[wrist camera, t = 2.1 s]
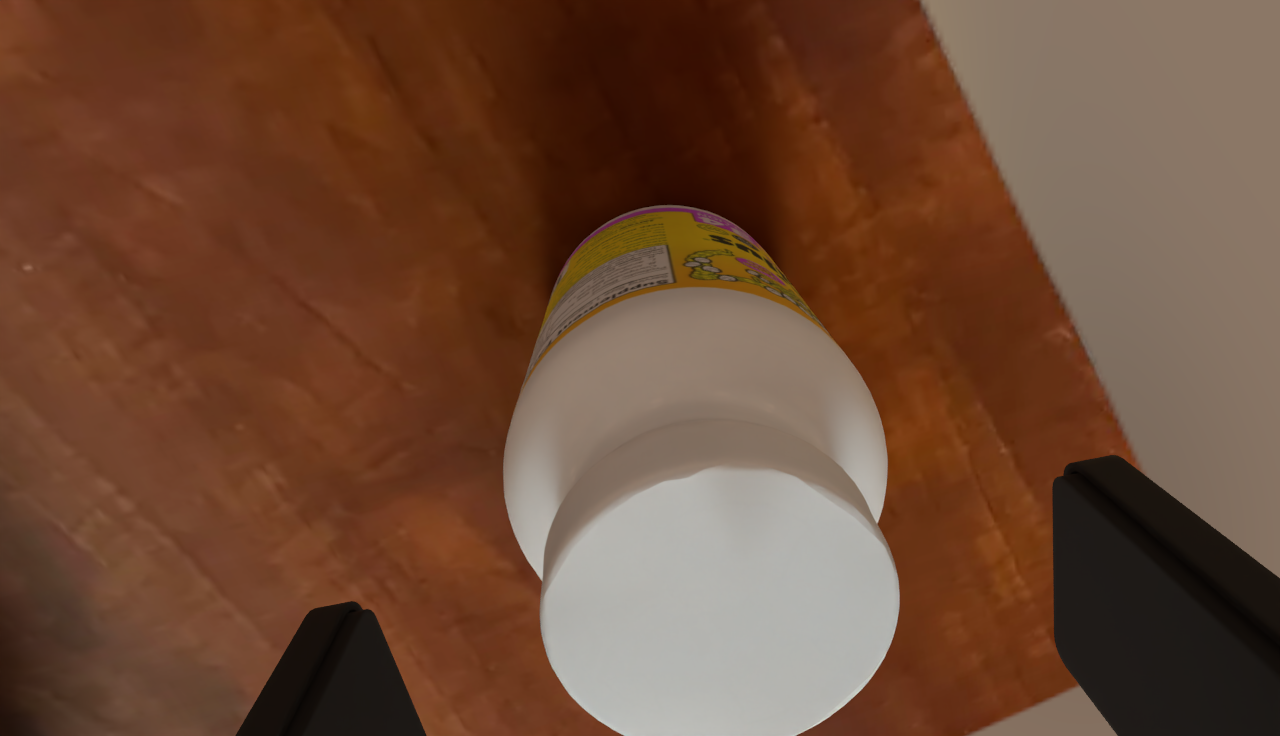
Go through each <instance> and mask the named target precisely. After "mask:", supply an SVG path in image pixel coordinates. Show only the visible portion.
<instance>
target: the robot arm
mask: <svg viewBox="0 0 1280 736" xmlns="http://www.w3.org/2000/svg"><path fill="white" fill-rule="evenodd" d="M1053 570H1054V637H1055V643H1056V647H1057V650H1058V653H1059V655H1060V657H1061V659H1062V661H1063V663H1064V664H1065V666H1066V667H1067V669H1068V670H1069V671H1070V673H1071V674H1072V675H1073V677H1074V678H1075V679H1076V681H1077V682H1078V683H1079V685H1080V686H1081V687H1082V689H1083V690H1084V691H1085V693H1086V694H1087V695H1088V697H1089V698H1090V699H1091V701H1092V702H1093V703H1094V705H1095V706H1096V707H1097V709H1098V710H1099V711H1100V712H1101V714H1102V715H1103V717H1104V718H1105V719H1106V721H1107V722H1108V723H1109V725H1110V726H1111V727H1112V728H1113V730H1114V731H1115V732H1116V734H1117V735H1118V736H1280V578H1279V577H1277V576H1276V575H1275V574H1273V573H1272V572H1271V571H1269V570H1268V569H1267V568H1265V567H1264V566H1263V565H1261V564H1260V563H1259V562H1257V561H1256V560H1255V559H1254V558H1252V557H1251V556H1250V555H1248V554H1247V553H1246V552H1244V551H1243V550H1242V549H1241V548H1239V547H1238V546H1237V545H1235V544H1234V543H1233V542H1231V541H1230V540H1229V539H1227V538H1226V537H1225V536H1224V535H1222V534H1221V533H1220V532H1218V531H1217V530H1216V529H1214V528H1213V527H1211V526H1210V525H1209V524H1208V523H1206V522H1205V521H1204V520H1203V519H1201V518H1200V517H1199V516H1197V515H1196V514H1195V513H1193V512H1192V511H1191V510H1190V509H1188V508H1187V507H1186V506H1184V505H1183V504H1182V503H1180V502H1179V501H1178V500H1176V499H1175V498H1174V497H1172V496H1171V495H1170V494H1169V493H1167V492H1166V491H1165V490H1163V489H1162V488H1161V487H1159V486H1158V485H1157V484H1156V483H1154V482H1153V481H1152V480H1150V479H1149V478H1148V477H1146V476H1145V475H1144V474H1142V473H1141V472H1140V471H1138V470H1137V469H1136V468H1135V467H1133V466H1132V465H1131V464H1129V463H1128V462H1127V461H1125V460H1124V459H1123V458H1121V457H1119V456H1116V455H1110V456H1105V457H1100V458H1095V459H1089V460H1084V461H1079V462H1074V463H1070V464H1068V465H1067V466H1066V468H1065V470H1064V476H1060V477H1057V478H1056V479H1055V480H1054V482H1053ZM236 736H426V733H425V731H424V729H423V726H422V724H421V722H420V719H419V717H418V715H417V712H416V710H415V708H414V705H413V703H412V700H411V698H410V696H409V693H408V691H407V689H406V686H405V684H404V682H403V679H402V677H401V675H400V672H399V670H398V667H397V665H396V663H395V660H394V658H393V656H392V653H391V651H390V649H389V646H388V644H387V642H386V639H385V637H384V634H383V632H382V630H381V627H380V625H379V623H378V620H377V618H376V616H375V614H374V613H373V612H372V611H371V610H368V609H366V610H363V609H362V608H361V606H360V605H359V604H358V603H357V602H352V601H351V602H346V603H341V604H336V605H330V606H325V607H320V608H315V609H313V610H311V611H310V612H309V613H308V614H307V615H306V617H305V618H304V620H303V622H302V624H301V625H300V627H299V629H298V630H297V632H296V634H295V635H294V637H293V639H292V641H291V642H290V644H289V646H288V647H287V649H286V651H285V652H284V654H283V656H282V658H281V659H280V661H279V663H278V664H277V666H276V668H275V669H274V671H273V673H272V675H271V676H270V678H269V680H268V681H267V683H266V685H265V686H264V688H263V690H262V692H261V693H260V695H259V697H258V698H257V700H256V702H255V704H254V705H253V707H252V709H251V710H250V712H249V714H248V715H247V717H246V719H245V721H244V722H243V724H242V726H241V727H240V729H239V731H238V732H237V734H236Z"/></svg>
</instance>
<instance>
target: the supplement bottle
mask: <svg viewBox="0 0 1280 736" xmlns="http://www.w3.org/2000/svg"><path fill="white" fill-rule="evenodd" d="M887 468H888V461H887V449H886V442H885V435H884V431H883V426H882V422H881V419H880V416H879V413H878V410H877V407H876V405H875V403H874V400H873V398H872V395H871V393H870V391H869V389H868V388H867V386H866V384H865V382H864V380H863V379H862V377H861V375H860V374H859V372H858V371H857V369H856V368H855V367H854V365H853V364H852V362H851V361H850V360H849V358H848V357H847V356H846V354H845V353H844V352H843V350H842V349H841V348H840V347H839V345H838V344H837V343H836V342H835V340H834V339H833V338H832V337H831V335H830V334H829V333H828V331H827V330H826V329H825V328H824V326H823V325H822V324H821V322H820V321H819V320H818V318H817V317H816V316H815V314H814V313H813V312H812V311H811V309H810V308H809V307H808V305H807V304H806V303H805V302H804V300H803V299H802V298H801V296H800V295H799V293H798V292H797V291H796V289H795V288H794V287H793V286H792V284H791V283H790V282H789V281H788V279H787V278H786V276H785V275H784V273H782V272H781V270H780V269H779V268H778V266H777V265H776V264H775V263H774V261H773V260H772V259H771V257H770V256H769V255H768V254H767V253H766V251H765V250H764V249H763V248H762V247H761V246H760V245H759V244H758V243H757V242H756V241H755V240H754V239H753V238H752V237H751V236H750V235H749V234H748V233H746V232H745V231H744V230H743V229H741V228H740V227H738V226H737V225H736V224H734V223H732V222H731V221H729V220H727V219H725V218H723V217H721V216H719V215H717V214H714V213H711V212H709V211H705V210H701V209H697V208H693V207H686V206H679V205H659V206H651V207H646V208H641V209H637V210H634V211H631V212H628V213H625V214H623V215H620V216H618V217H616V218H614V219H612V220H610V221H608V222H607V223H605V224H604V225H602V226H601V227H600V228H598V229H597V230H595V231H594V232H593V233H592V234H590V235H589V236H588V237H587V238H586V239H584V240H583V242H582V243H581V244H580V245H579V246H578V247H577V248H576V249H575V251H574V252H573V253H572V254H571V256H570V257H569V259H568V260H567V262H566V263H565V265H564V267H563V269H562V270H561V272H560V274H559V277H558V279H557V281H556V283H555V286H554V288H553V291H552V294H551V297H550V300H549V303H548V307H547V310H546V313H545V317H544V320H543V323H542V326H541V329H540V332H539V335H538V338H537V342H536V344H535V347H534V352H533V355H532V358H531V361H530V365H529V368H528V371H527V374H526V377H525V380H524V383H523V386H522V388H521V392H520V395H519V398H518V401H517V404H516V406H515V410H514V413H513V416H512V420H511V425H510V428H509V431H508V436H507V441H506V446H505V453H504V464H503V477H504V496H505V502H506V507H507V511H508V516H509V519H510V522H511V525H512V528H513V531H514V534H515V536H516V538H517V540H518V543H519V545H520V547H521V549H522V551H523V553H524V555H525V556H526V558H527V560H528V562H529V563H530V565H531V566H532V567H533V569H534V570H535V572H536V573H537V574H538V576H539V577H540V579H541V580H542V590H541V599H540V626H541V634H542V638H543V642H544V646H545V650H546V654H547V656H548V659H549V661H550V664H551V666H552V668H553V670H554V671H555V673H556V675H557V676H558V678H559V680H560V681H561V683H562V685H563V686H564V688H565V689H566V690H567V692H568V693H569V694H570V696H571V697H572V698H573V699H574V700H575V701H576V702H577V703H578V704H579V705H580V706H581V707H582V708H583V709H585V710H586V711H587V712H588V713H590V714H591V715H592V716H593V717H595V718H596V719H597V720H598V721H600V722H602V723H603V724H605V725H607V726H608V727H610V728H611V729H613V730H615V731H617V732H619V733H620V734H622V735H624V736H795V735H798V734H800V733H802V732H804V731H806V730H808V729H810V728H812V727H814V726H815V725H817V724H819V723H821V722H822V721H824V720H825V719H827V718H828V717H830V716H831V715H832V714H834V713H835V712H836V711H838V710H839V709H840V708H842V707H843V706H844V705H845V704H846V703H848V702H849V701H850V700H851V699H852V698H853V697H854V696H855V695H856V694H857V693H858V692H860V691H861V690H862V688H863V687H864V686H865V685H866V684H867V683H868V681H869V680H870V679H871V678H872V676H873V675H874V673H875V672H876V670H877V669H878V667H879V666H880V664H881V662H882V661H883V659H884V658H885V655H886V652H887V650H888V649H889V647H890V644H891V642H892V639H893V636H894V633H895V629H896V625H897V621H898V613H899V582H898V575H897V571H896V567H895V563H894V560H893V557H892V554H891V551H890V549H889V546H888V544H887V542H886V540H885V538H884V536H883V534H882V532H881V530H880V528H879V527H878V525H877V523H878V520H879V518H880V514H881V511H882V508H883V503H884V498H885V491H886V485H887Z"/></svg>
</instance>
